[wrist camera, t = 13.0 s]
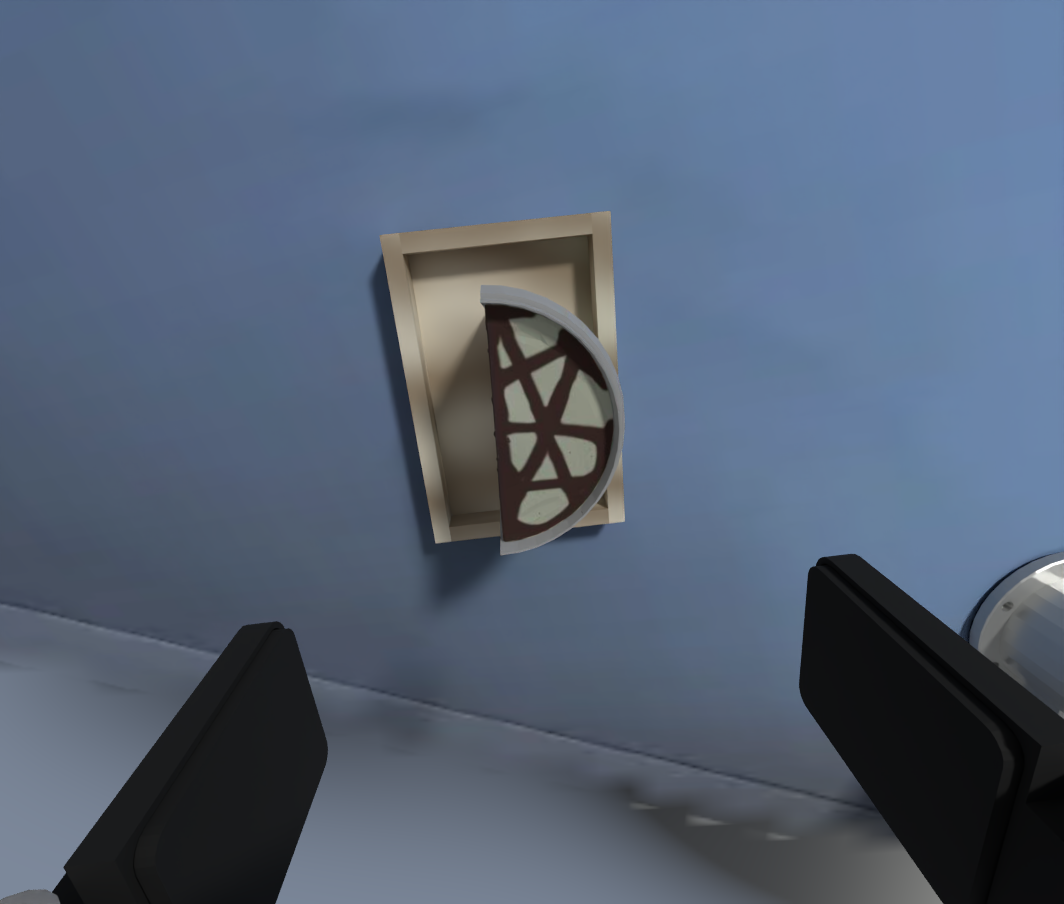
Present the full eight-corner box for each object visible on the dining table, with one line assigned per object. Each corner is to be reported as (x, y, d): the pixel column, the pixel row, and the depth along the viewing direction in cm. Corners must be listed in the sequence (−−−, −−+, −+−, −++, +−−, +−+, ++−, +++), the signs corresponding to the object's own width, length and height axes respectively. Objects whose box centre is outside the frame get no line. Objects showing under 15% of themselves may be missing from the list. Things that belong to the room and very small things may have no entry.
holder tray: (616, 505, 35) (624, 521, 33) (440, 525, 35) (435, 543, 33) (601, 216, 30) (610, 211, 27) (389, 238, 29) (379, 235, 27)
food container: (596, 476, 34) (633, 556, 24) (501, 483, 34) (501, 565, 24) (594, 275, 30) (637, 277, 20) (486, 281, 30) (478, 286, 20)
